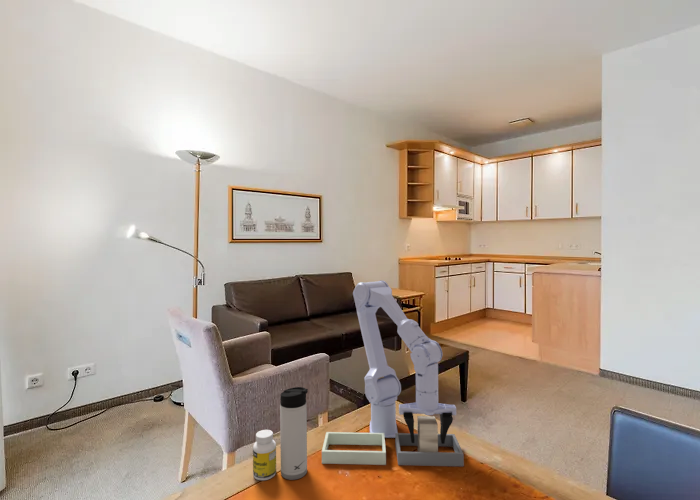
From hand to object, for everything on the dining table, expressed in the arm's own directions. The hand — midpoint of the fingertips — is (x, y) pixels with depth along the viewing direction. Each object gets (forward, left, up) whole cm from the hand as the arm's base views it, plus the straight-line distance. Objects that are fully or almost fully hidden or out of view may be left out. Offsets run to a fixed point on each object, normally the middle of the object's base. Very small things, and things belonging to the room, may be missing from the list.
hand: (427, 441), depth 96 cm
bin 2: (0, 0, -3) cm, 3 cm away
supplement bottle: (+10, -40, -4) cm, 41 cm away
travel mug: (+9, -33, -4) cm, 34 cm away
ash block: (0, 0, -3) cm, 3 cm away
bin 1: (0, -19, -3) cm, 19 cm away
